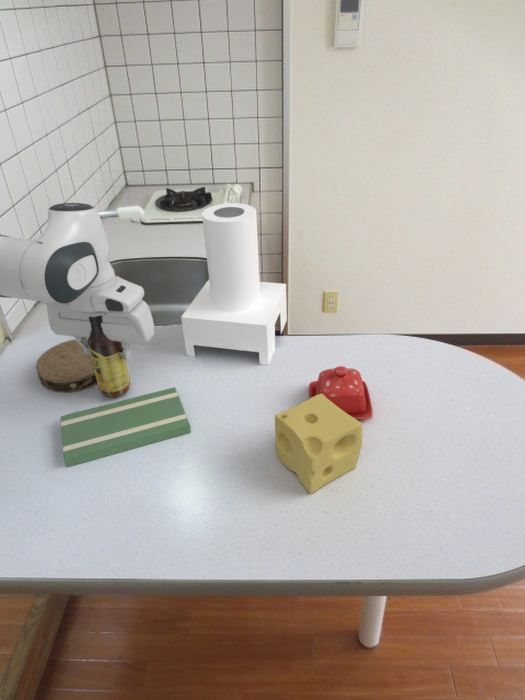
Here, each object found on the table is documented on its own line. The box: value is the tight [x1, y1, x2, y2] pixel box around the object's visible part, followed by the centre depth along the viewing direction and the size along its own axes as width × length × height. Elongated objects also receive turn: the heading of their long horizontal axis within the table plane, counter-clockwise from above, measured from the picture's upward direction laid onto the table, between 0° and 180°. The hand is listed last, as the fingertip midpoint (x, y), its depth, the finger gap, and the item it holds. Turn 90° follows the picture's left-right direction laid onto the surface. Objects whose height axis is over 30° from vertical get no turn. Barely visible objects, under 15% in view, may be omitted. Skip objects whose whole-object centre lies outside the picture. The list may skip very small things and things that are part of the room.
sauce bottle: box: [88, 316, 131, 398], centre depth 101 cm, size 6×6×20 cm
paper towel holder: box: [180, 202, 288, 366], centre depth 114 cm, size 19×19×30 cm
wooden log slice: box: [35, 339, 98, 393], centre depth 113 cm, size 16×16×3 cm
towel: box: [60, 386, 192, 468], centre depth 97 cm, size 22×12×2 cm, turn 111°
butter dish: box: [308, 365, 373, 420], centre depth 99 cm, size 12×12×8 cm
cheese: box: [274, 394, 363, 495], centre depth 86 cm, size 10×11×10 cm
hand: (108, 355), depth 102 cm, fingers closed on sauce bottle, 6 cm apart
